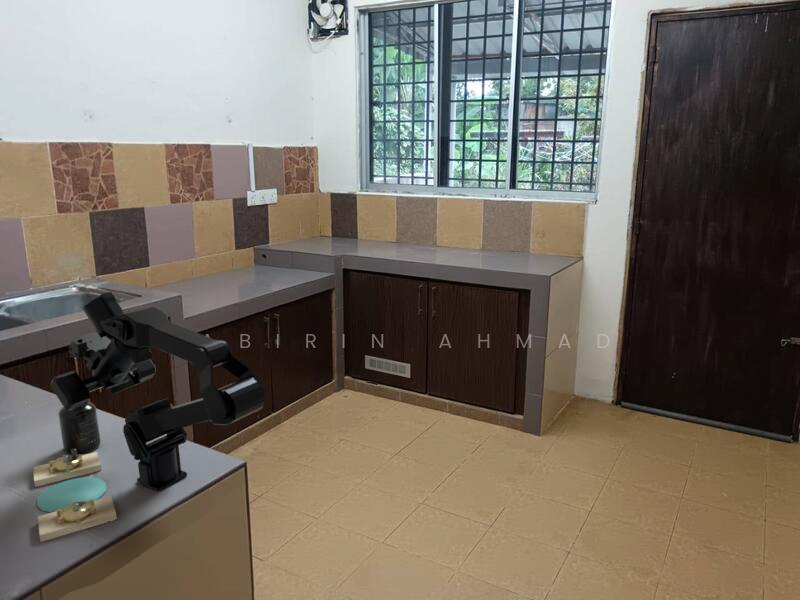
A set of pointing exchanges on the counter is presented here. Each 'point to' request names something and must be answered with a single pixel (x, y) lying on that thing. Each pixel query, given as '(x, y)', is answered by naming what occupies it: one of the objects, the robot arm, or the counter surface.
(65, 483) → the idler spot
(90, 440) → the supplement bottle
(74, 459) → the brass gears
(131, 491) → the counter surface
